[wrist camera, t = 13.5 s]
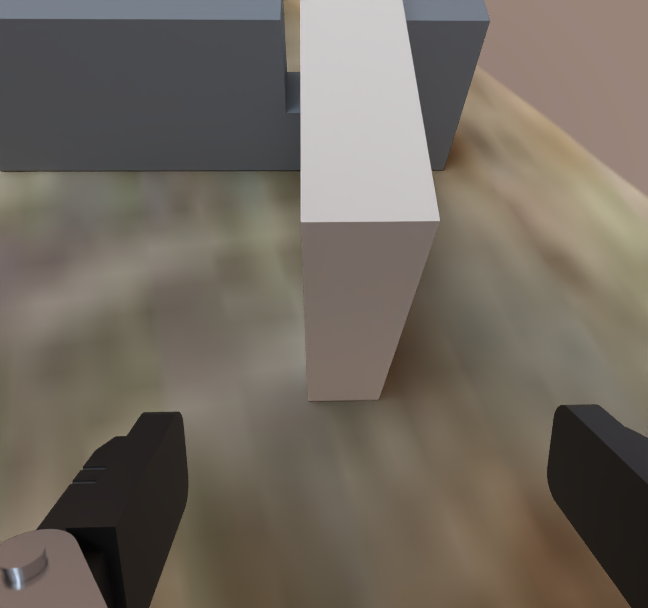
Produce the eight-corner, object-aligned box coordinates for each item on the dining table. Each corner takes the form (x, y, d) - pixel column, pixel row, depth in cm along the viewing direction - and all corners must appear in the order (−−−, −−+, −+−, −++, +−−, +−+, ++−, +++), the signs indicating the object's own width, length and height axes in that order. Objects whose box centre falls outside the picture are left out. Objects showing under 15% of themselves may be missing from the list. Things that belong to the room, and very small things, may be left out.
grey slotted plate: (0, 171, 23) (-116, 18, 17) (15, 131, 24) (-87, -25, 18) (443, 169, 23) (490, 20, 17) (436, 131, 24) (477, -22, 18)
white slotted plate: (378, 399, 18) (439, 220, 9) (307, 400, 18) (301, 222, 9) (354, 93, 26) (375, -162, 17) (304, 94, 26) (299, -162, 17)
